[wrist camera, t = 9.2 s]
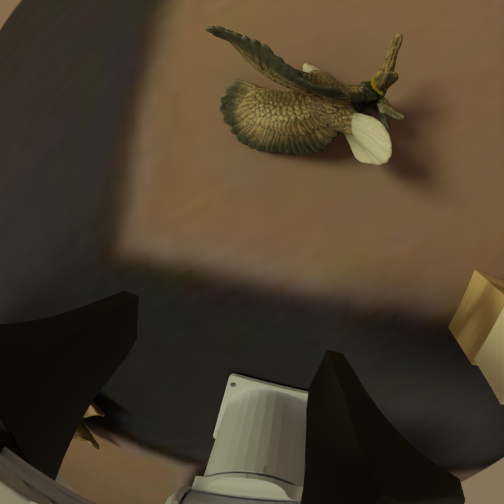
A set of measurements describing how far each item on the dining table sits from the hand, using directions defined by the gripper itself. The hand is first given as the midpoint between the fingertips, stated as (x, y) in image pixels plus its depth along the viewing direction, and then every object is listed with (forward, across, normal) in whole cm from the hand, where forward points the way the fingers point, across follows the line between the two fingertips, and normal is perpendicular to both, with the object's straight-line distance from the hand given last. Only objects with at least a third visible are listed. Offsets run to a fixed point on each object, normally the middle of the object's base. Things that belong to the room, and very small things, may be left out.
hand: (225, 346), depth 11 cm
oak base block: (+10, -18, 0) cm, 21 cm away
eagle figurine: (+11, 0, -10) cm, 15 cm away
